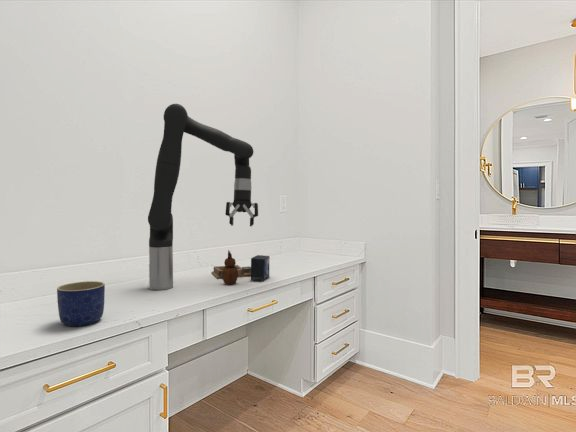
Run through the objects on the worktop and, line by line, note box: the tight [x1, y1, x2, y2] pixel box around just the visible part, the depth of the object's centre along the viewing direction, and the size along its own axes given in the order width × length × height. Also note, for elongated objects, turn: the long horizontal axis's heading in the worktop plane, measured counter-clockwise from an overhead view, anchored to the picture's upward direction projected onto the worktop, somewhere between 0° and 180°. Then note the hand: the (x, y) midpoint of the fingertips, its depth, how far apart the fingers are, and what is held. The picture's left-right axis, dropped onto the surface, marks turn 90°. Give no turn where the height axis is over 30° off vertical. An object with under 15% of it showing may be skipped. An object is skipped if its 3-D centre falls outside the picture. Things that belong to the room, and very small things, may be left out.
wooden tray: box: [211, 264, 251, 280], centre depth 182 cm, size 20×14×4 cm
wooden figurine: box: [222, 250, 239, 286], centre depth 162 cm, size 7×6×15 cm
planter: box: [56, 280, 106, 327], centre depth 111 cm, size 12×12×11 cm
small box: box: [250, 254, 270, 283], centre depth 172 cm, size 11×6×10 cm, turn 168°
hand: (241, 225), depth 166 cm, fingers open, 8 cm apart
